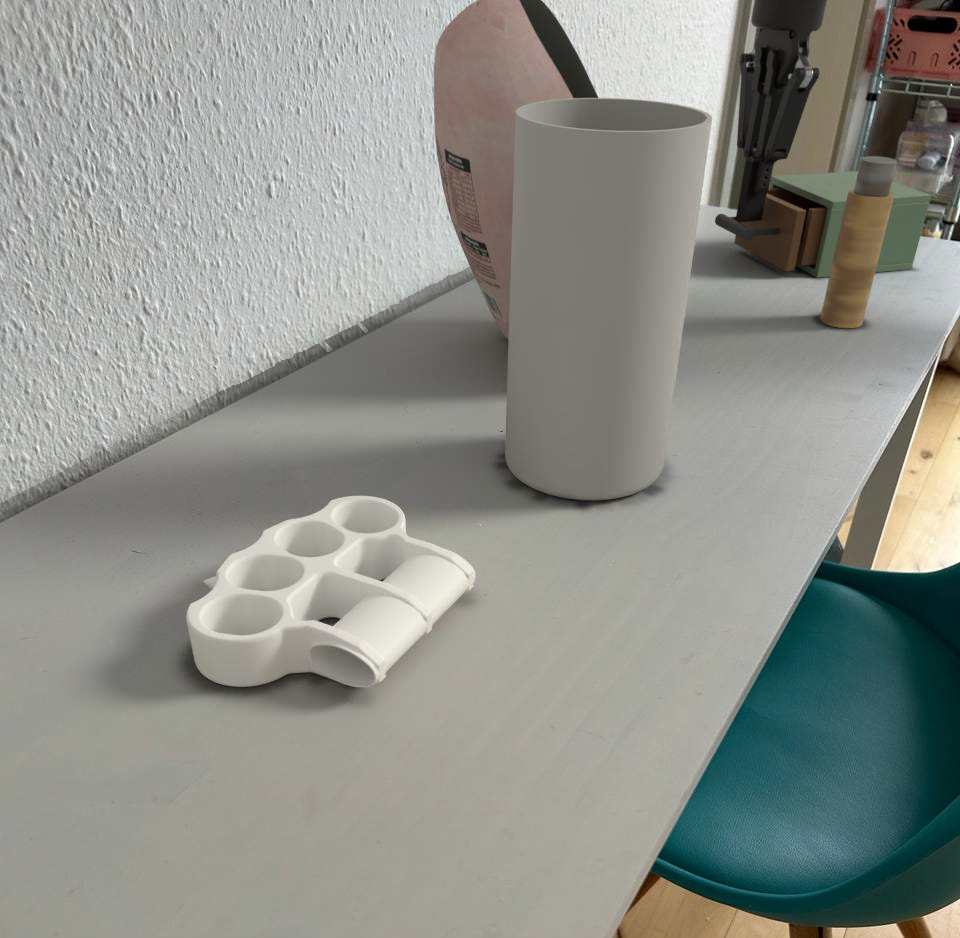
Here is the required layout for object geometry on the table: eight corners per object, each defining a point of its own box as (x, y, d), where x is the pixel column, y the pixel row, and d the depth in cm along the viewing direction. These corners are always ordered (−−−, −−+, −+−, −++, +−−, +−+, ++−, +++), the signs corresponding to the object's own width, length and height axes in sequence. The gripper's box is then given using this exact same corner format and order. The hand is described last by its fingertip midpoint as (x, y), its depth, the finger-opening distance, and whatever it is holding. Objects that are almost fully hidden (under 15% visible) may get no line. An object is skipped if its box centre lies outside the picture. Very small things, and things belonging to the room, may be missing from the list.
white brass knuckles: (345, 734, 53) (138, 653, 58) (498, 574, 65) (317, 520, 71) (340, 686, 51) (126, 607, 56) (499, 530, 63) (313, 478, 69)
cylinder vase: (694, 485, 76) (752, 124, 61) (552, 518, 71) (577, 137, 56) (609, 422, 85) (642, 93, 70) (478, 448, 80) (483, 104, 65)
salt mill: (870, 326, 105) (912, 163, 96) (835, 330, 104) (873, 165, 95) (846, 313, 109) (884, 154, 99) (812, 316, 108) (846, 156, 98)
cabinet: (816, 277, 119) (833, 201, 114) (758, 247, 129) (771, 176, 124) (911, 269, 122) (931, 194, 117) (847, 239, 133) (863, 170, 127)
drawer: (749, 274, 116) (760, 213, 112) (699, 246, 126) (708, 189, 122) (874, 263, 121) (889, 204, 117) (817, 236, 130) (829, 181, 126)
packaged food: (671, 388, 91) (724, 2, 73) (464, 405, 87) (466, 4, 69) (595, 310, 108) (623, -18, 90) (419, 322, 104) (411, -18, 86)
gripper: (731, -21, 109) (695, 206, 123) (796, -11, 99) (748, 235, 113) (790, -19, 111) (748, 204, 125) (859, -9, 101) (805, 232, 115)
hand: (748, 218), depth 119 cm, fingers closed
